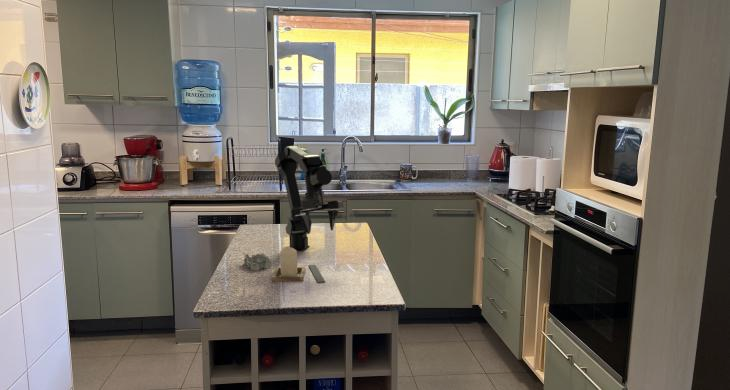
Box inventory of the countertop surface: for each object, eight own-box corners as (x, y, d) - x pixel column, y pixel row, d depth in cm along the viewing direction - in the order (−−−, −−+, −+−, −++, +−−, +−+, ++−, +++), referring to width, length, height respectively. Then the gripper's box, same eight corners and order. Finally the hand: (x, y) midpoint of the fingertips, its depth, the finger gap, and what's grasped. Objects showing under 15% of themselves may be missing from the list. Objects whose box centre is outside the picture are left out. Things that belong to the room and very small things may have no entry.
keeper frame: (276, 271, 176) (276, 267, 176) (305, 271, 177) (305, 267, 177) (272, 281, 167) (272, 277, 166) (303, 281, 167) (303, 276, 167)
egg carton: (242, 263, 186) (241, 252, 185) (262, 260, 190) (261, 249, 189) (251, 271, 177) (251, 260, 176) (272, 268, 181) (272, 257, 180)
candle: (300, 276, 172) (300, 247, 170) (287, 280, 168) (286, 250, 166) (290, 272, 176) (290, 244, 174) (277, 276, 172) (276, 247, 170)
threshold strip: (325, 282, 166) (325, 281, 166) (317, 283, 165) (317, 281, 165) (315, 265, 183) (315, 264, 183) (308, 266, 182) (308, 265, 182)
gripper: (280, 192, 181) (286, 236, 180) (329, 183, 175) (335, 229, 174) (294, 193, 192) (300, 235, 190) (341, 185, 186) (347, 228, 185)
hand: (320, 232), depth 185 cm, fingers open, 9 cm apart
